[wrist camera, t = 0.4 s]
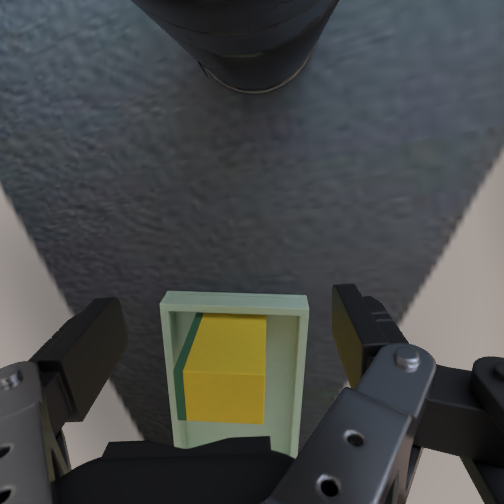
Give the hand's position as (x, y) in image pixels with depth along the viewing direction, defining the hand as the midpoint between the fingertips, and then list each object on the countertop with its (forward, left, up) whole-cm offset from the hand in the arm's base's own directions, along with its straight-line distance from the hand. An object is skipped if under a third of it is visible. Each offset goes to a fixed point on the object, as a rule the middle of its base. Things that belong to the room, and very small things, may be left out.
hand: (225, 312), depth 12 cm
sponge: (+12, -1, -17) cm, 21 cm away
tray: (+19, -1, -18) cm, 26 cm away
